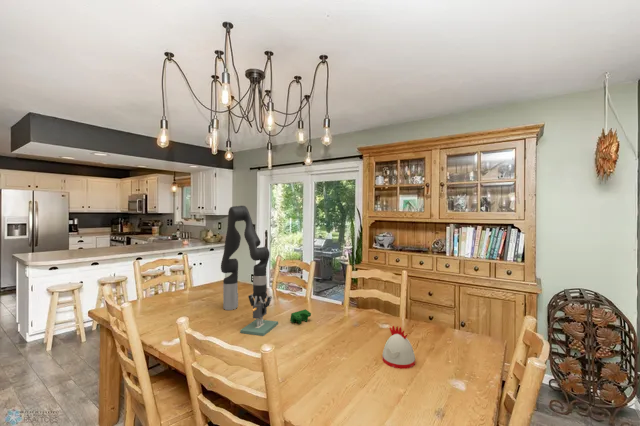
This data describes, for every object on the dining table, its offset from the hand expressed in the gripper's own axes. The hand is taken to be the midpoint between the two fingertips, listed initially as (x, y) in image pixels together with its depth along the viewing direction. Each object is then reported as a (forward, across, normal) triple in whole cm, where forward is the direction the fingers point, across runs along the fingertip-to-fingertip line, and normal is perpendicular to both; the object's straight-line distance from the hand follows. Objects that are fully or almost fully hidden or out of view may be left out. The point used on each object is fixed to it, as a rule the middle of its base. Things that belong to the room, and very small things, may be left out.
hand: (259, 313), depth 173 cm
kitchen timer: (+9, -76, +15) cm, 78 cm away
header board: (+8, 0, 0) cm, 8 cm away
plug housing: (+1, 0, +2) cm, 2 cm away
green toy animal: (+9, -18, -16) cm, 26 cm away
